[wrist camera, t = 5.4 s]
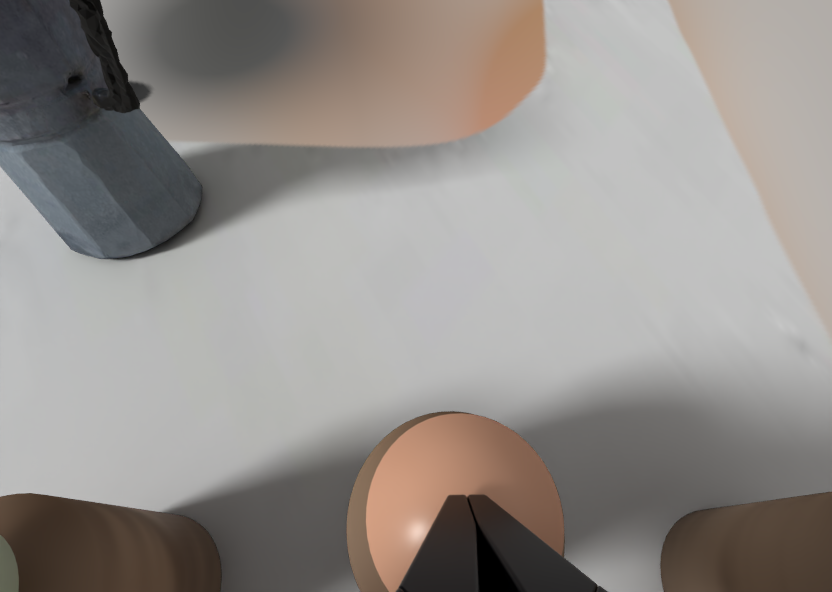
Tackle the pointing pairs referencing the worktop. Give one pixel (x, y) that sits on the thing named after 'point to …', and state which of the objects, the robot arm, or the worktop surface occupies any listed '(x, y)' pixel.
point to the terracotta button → (454, 486)
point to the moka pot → (85, 133)
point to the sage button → (8, 568)
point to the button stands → (201, 569)
